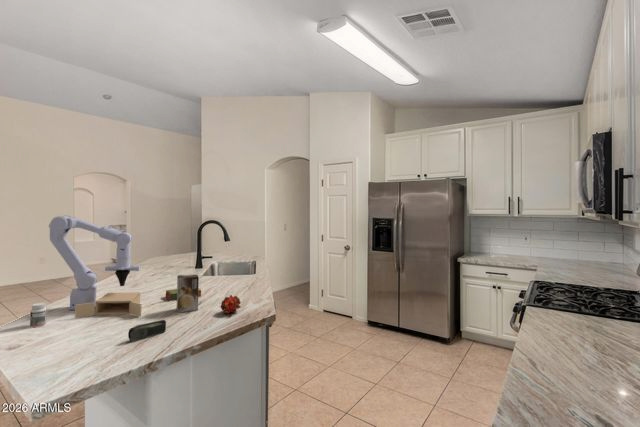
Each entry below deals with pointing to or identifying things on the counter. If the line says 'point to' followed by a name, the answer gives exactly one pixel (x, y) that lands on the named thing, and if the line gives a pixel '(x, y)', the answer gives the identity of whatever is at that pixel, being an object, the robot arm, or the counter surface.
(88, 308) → the left flap
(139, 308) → the right flap
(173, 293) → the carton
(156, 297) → the counter surface
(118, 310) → the cardboard box
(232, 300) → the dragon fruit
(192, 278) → the coffee box
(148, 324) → the mobile phone
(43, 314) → the pill bottle
